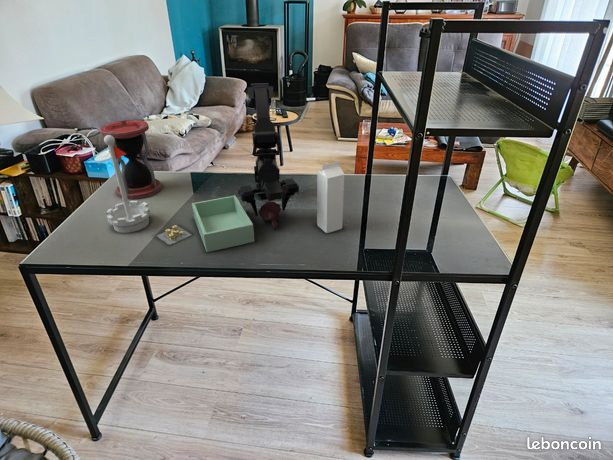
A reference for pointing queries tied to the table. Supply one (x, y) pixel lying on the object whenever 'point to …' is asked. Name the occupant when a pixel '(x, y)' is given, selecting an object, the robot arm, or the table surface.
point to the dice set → (173, 235)
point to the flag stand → (125, 200)
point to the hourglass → (133, 157)
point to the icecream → (270, 212)
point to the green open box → (222, 223)
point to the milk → (330, 197)
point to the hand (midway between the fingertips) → (270, 213)
